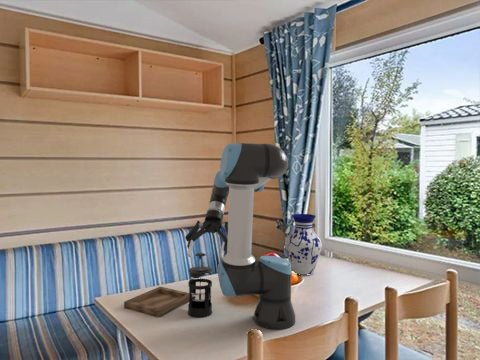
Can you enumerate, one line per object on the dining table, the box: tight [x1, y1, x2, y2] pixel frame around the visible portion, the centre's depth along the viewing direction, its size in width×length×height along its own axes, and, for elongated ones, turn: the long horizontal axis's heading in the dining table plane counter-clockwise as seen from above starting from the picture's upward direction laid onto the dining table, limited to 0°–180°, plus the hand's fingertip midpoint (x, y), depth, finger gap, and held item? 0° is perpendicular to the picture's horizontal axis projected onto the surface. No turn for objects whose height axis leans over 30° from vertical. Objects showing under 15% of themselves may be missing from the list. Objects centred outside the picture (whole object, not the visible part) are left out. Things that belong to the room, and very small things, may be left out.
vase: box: [284, 213, 323, 276], centre depth 201 cm, size 19×19×30 cm
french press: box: [187, 252, 213, 319], centre depth 148 cm, size 12×9×23 cm
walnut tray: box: [123, 286, 189, 318], centre depth 158 cm, size 18×21×2 cm
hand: (205, 256), depth 156 cm, fingers open, 13 cm apart
